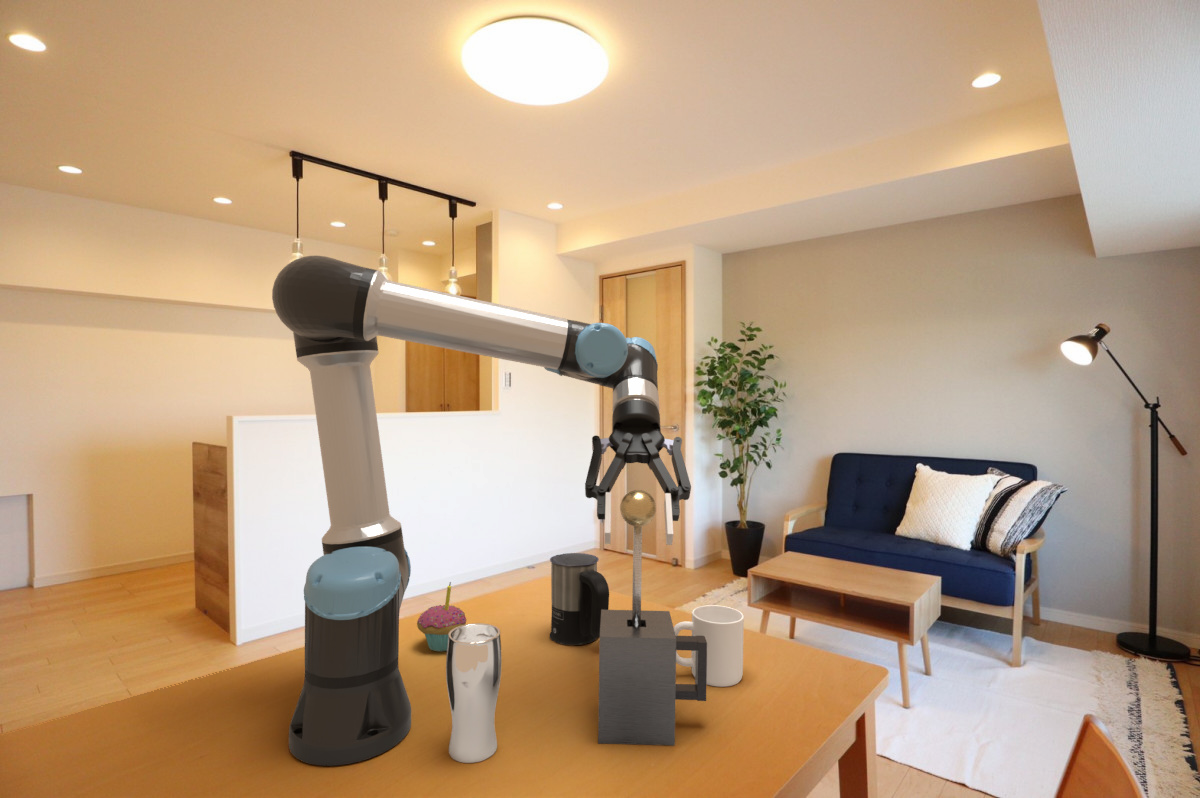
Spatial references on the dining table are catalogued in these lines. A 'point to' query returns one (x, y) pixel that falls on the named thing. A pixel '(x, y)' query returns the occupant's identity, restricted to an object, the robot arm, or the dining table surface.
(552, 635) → the milk frother
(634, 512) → the plunger
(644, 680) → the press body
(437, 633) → the cupcake
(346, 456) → the robot arm
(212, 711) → the dining table surface
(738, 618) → the cup
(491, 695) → the beer glass
